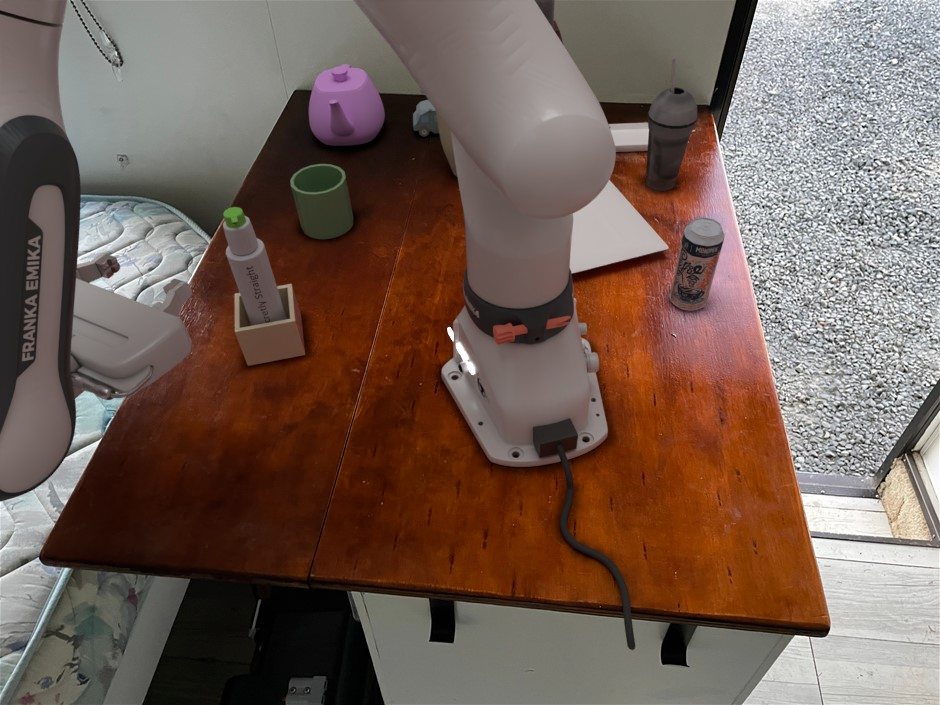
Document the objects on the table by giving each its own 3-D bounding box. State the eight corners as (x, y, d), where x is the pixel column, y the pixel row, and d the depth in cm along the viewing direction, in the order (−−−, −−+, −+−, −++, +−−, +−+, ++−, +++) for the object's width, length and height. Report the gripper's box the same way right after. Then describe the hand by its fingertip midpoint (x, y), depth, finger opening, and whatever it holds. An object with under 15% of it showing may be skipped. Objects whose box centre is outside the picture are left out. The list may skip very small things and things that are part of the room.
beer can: (666, 308, 93) (682, 234, 85) (672, 286, 96) (688, 212, 88) (703, 316, 92) (723, 242, 83) (708, 293, 95) (728, 219, 86)
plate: (520, 296, 96) (521, 285, 94) (467, 207, 111) (467, 196, 109) (667, 258, 100) (670, 246, 99) (597, 178, 115) (599, 166, 114)
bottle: (255, 353, 90) (207, 224, 76) (262, 329, 93) (218, 201, 79) (289, 352, 90) (248, 223, 76) (295, 328, 93) (256, 200, 79)
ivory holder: (305, 355, 90) (295, 320, 85) (247, 366, 89) (234, 331, 84) (301, 317, 95) (291, 283, 90) (246, 327, 94) (234, 293, 89)
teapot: (319, 110, 135) (306, 48, 126) (389, 107, 135) (381, 45, 126) (305, 167, 121) (290, 102, 112) (383, 163, 121) (374, 98, 112)
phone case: (580, 153, 121) (669, 150, 120) (581, 146, 120) (670, 143, 119) (575, 132, 126) (660, 128, 125) (576, 124, 125) (662, 121, 124)
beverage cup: (683, 197, 111) (710, 72, 96) (636, 194, 112) (655, 69, 97) (683, 172, 115) (708, 49, 101) (638, 169, 117) (656, 47, 102)
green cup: (356, 234, 107) (348, 188, 101) (303, 243, 106) (292, 197, 100) (350, 205, 113) (342, 160, 107) (300, 213, 111) (288, 168, 106)
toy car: (470, 134, 126) (469, 108, 123) (414, 137, 126) (411, 111, 123) (468, 116, 131) (467, 91, 127) (414, 119, 131) (412, 94, 127)
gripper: (103, 380, 55) (221, 276, 64) (-65, 305, 62) (61, 220, 70) (133, 429, 60) (239, 326, 68) (-27, 355, 67) (88, 269, 75)
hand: (148, 272), depth 69 cm, fingers open, 8 cm apart
